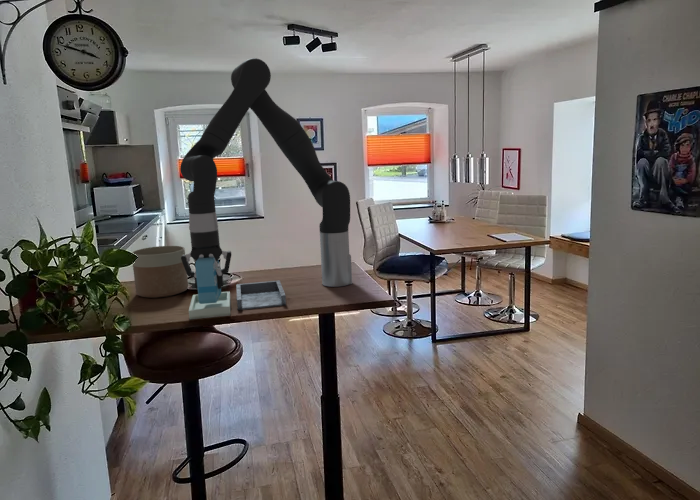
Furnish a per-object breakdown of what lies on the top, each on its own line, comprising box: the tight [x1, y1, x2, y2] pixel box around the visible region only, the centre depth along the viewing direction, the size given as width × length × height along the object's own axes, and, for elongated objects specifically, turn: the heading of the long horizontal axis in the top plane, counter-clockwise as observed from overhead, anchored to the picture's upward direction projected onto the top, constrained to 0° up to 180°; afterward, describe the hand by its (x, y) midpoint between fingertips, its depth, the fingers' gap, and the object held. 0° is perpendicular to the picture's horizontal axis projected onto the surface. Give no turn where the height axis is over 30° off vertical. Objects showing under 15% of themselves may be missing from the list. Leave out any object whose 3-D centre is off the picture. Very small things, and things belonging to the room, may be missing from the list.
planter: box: [131, 245, 189, 299], centre depth 167 cm, size 16×16×14 cm
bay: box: [235, 279, 287, 311], centre depth 155 cm, size 13×18×3 cm
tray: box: [188, 290, 231, 320], centre depth 148 cm, size 11×17×2 cm, turn 13°
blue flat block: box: [194, 258, 222, 304], centre depth 146 cm, size 12×4×12 cm, turn 6°
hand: (209, 288), depth 147 cm, fingers closed on blue flat block, 4 cm apart
